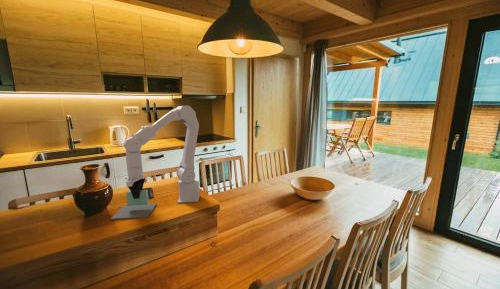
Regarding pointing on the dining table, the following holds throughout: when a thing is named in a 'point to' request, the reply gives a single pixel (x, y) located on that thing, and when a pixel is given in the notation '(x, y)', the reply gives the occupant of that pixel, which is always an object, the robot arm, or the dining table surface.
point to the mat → (134, 212)
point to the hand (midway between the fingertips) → (137, 197)
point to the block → (141, 201)
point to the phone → (149, 192)
